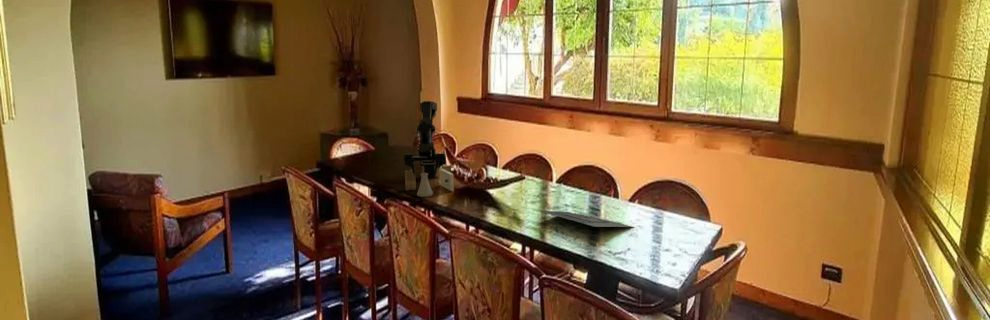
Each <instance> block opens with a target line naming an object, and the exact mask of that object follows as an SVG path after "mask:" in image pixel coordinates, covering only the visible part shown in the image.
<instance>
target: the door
mask: <svg viewBox="0 0 990 320" xmlns="http://www.w3.org/2000/svg"><path fill="white" fill-rule="evenodd" d="M454 179H455V178H454V173H453V172H452V173H450V172H448V171H446V170H444V169H442V168H439V181H440V182H439V183H440V184H439V185H440V186H441V187H443V189H444V188H445V189H447V190H448V191H449V192H454V190H455V188H454V187H455V186H454V181H455V180H454Z"/></svg>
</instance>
